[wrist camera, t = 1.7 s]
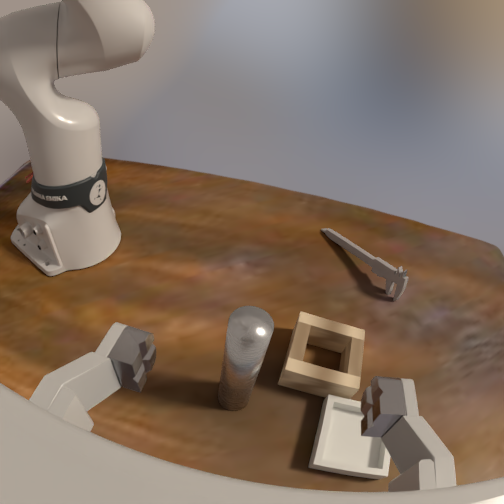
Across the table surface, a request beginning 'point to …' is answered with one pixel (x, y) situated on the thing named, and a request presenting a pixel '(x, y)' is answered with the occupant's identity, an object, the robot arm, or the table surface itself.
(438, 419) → the table surface
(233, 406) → the grey rounded cylinder
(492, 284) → the table surface
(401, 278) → the caliper
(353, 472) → the tray
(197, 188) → the table surface
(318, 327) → the bore block
